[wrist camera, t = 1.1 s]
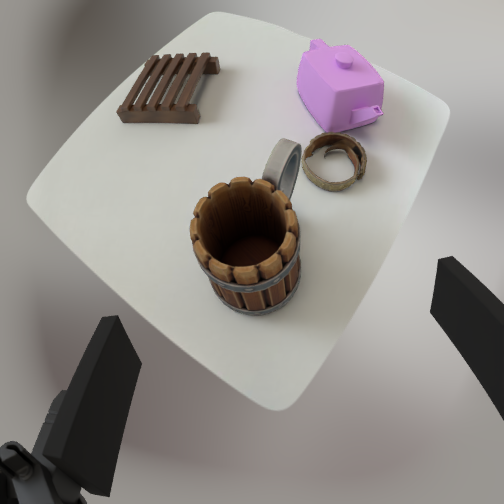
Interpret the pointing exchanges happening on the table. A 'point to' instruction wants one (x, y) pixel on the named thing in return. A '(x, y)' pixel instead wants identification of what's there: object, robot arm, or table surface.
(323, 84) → the teapot
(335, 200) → the table surface
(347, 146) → the bracelet
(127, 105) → the drying rack
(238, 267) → the mug
